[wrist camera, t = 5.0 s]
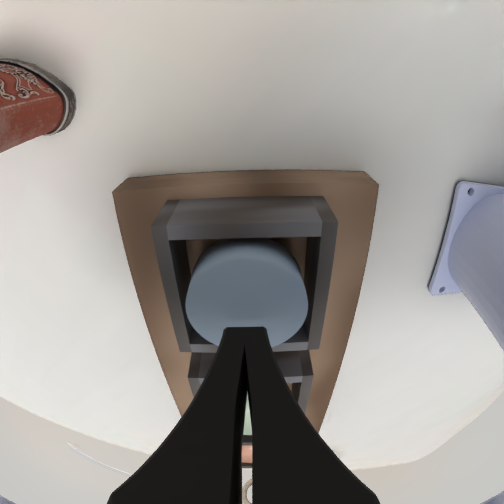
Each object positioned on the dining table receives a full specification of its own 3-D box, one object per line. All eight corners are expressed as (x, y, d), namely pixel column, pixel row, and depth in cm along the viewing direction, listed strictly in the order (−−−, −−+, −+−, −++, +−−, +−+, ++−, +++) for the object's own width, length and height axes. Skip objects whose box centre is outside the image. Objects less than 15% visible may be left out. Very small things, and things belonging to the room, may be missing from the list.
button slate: (305, 233, 12) (313, 257, 11) (297, 321, 15) (302, 349, 13) (185, 236, 12) (176, 261, 11) (199, 324, 15) (194, 351, 13)
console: (364, 171, 14) (403, 207, 11) (312, 427, 28) (317, 465, 24) (127, 178, 14) (87, 215, 11) (196, 430, 28) (193, 467, 24)
